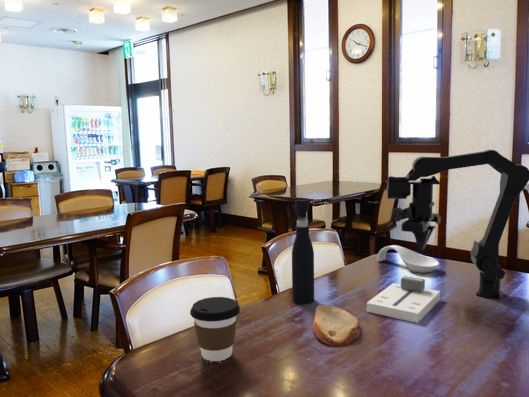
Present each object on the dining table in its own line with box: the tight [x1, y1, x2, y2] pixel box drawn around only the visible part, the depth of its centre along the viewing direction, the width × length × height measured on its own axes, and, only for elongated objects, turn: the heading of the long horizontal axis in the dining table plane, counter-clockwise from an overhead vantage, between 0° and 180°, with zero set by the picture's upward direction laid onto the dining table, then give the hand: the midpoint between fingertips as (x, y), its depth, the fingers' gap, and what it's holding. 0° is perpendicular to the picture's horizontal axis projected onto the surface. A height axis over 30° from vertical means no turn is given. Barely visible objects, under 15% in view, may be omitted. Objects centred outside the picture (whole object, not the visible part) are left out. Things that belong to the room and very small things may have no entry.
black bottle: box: [291, 198, 315, 305], centre depth 133 cm, size 6×6×30 cm
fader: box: [400, 275, 426, 292], centre depth 134 cm, size 3×6×3 cm, turn 54°
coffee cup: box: [189, 296, 241, 361], centre depth 101 cm, size 11×11×12 cm
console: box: [365, 282, 441, 324], centre depth 129 cm, size 20×14×3 cm
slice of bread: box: [312, 304, 361, 348], centre depth 115 cm, size 18×18×4 cm
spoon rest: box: [376, 244, 440, 274], centre depth 165 cm, size 24×12×7 cm, turn 39°
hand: (421, 250), depth 138 cm, fingers closed
